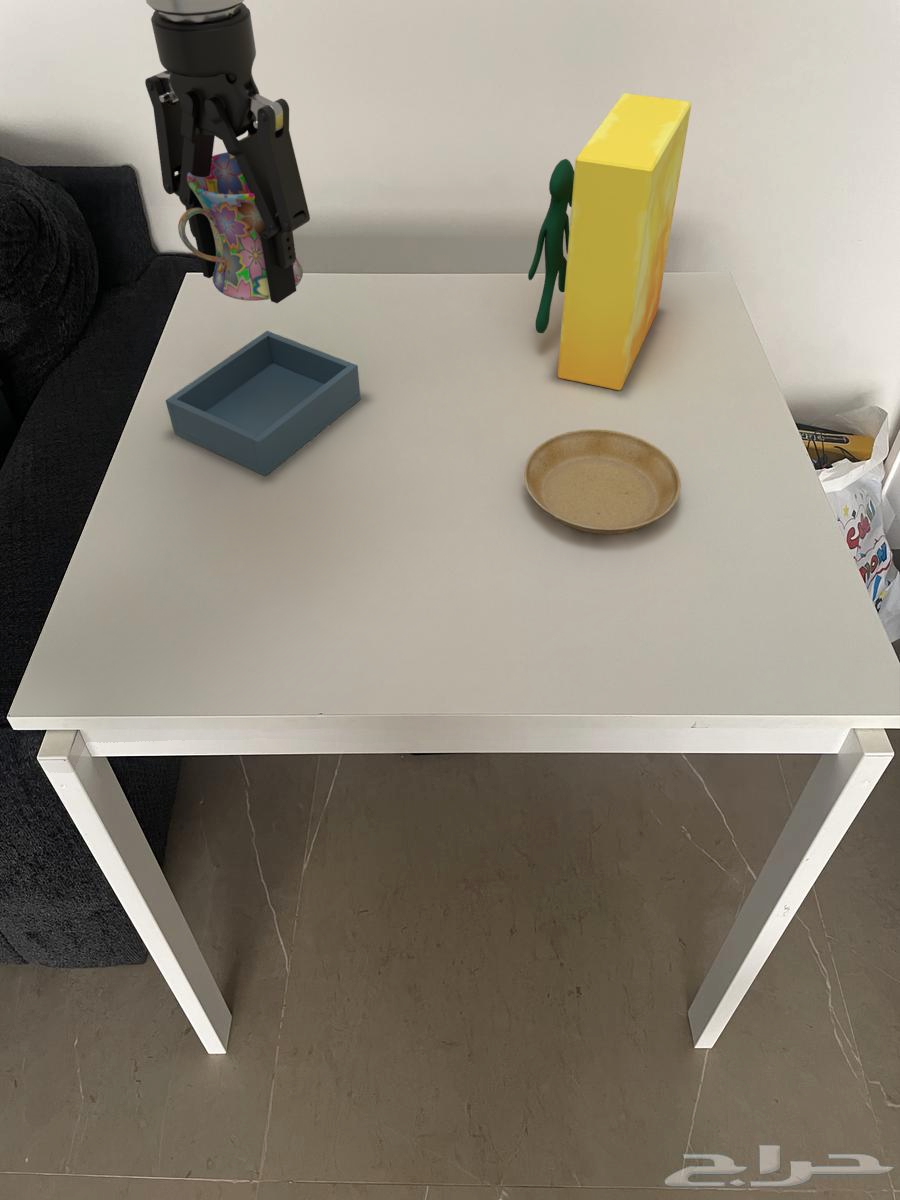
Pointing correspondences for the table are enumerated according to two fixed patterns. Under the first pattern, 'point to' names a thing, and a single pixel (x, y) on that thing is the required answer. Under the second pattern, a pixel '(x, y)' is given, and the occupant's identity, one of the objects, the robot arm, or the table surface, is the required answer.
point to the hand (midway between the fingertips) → (249, 283)
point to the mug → (232, 231)
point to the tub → (264, 401)
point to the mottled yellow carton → (612, 237)
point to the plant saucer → (602, 480)
